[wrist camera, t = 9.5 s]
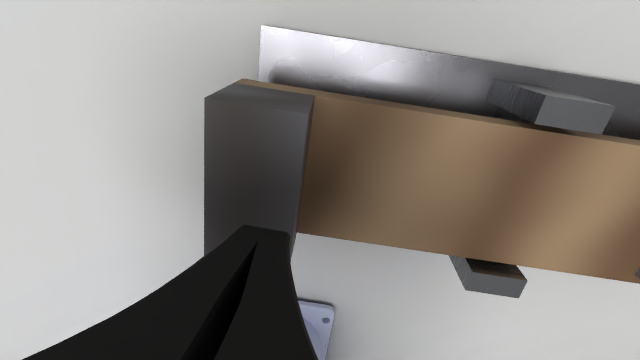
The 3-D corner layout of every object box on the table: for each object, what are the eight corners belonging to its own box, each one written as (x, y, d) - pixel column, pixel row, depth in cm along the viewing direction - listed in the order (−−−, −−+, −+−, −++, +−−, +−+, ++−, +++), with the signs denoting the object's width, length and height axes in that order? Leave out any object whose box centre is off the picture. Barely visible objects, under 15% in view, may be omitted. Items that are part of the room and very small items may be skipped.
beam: (824, 169, 14) (1013, 222, 10) (730, 283, 16) (852, 361, 12) (242, 78, 13) (204, 97, 10) (236, 209, 16) (204, 265, 12)
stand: (771, 105, 16) (947, 136, 11) (654, 273, 20) (747, 346, 15) (264, 25, 16) (232, 23, 11) (251, 211, 20) (224, 265, 15)
